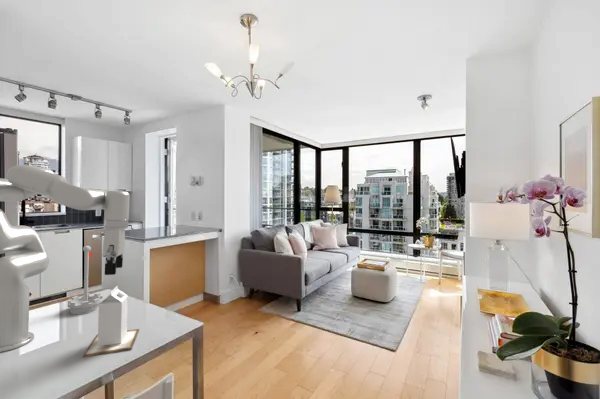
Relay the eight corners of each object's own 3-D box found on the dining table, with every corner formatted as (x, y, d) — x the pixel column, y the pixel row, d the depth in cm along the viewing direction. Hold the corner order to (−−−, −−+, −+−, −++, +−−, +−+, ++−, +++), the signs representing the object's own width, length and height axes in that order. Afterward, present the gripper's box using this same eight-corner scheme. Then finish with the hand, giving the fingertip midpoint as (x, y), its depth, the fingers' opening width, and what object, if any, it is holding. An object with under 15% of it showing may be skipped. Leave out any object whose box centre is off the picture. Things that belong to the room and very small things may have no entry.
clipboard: (82, 357, 90) (82, 353, 90) (97, 336, 104) (97, 332, 104) (131, 349, 95) (131, 346, 95) (139, 330, 109) (139, 327, 109)
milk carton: (97, 346, 95) (98, 292, 95) (105, 336, 102) (106, 286, 102) (120, 344, 97) (122, 291, 97) (127, 334, 104) (128, 285, 104)
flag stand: (94, 313, 124) (95, 247, 124) (60, 315, 121) (62, 248, 121) (107, 303, 136) (109, 243, 136) (77, 304, 133) (78, 243, 133)
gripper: (110, 222, 106) (108, 265, 106) (96, 226, 90) (93, 278, 90) (132, 222, 109) (130, 264, 109) (122, 227, 93) (120, 277, 93)
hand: (113, 270), depth 100 cm, fingers open, 9 cm apart
